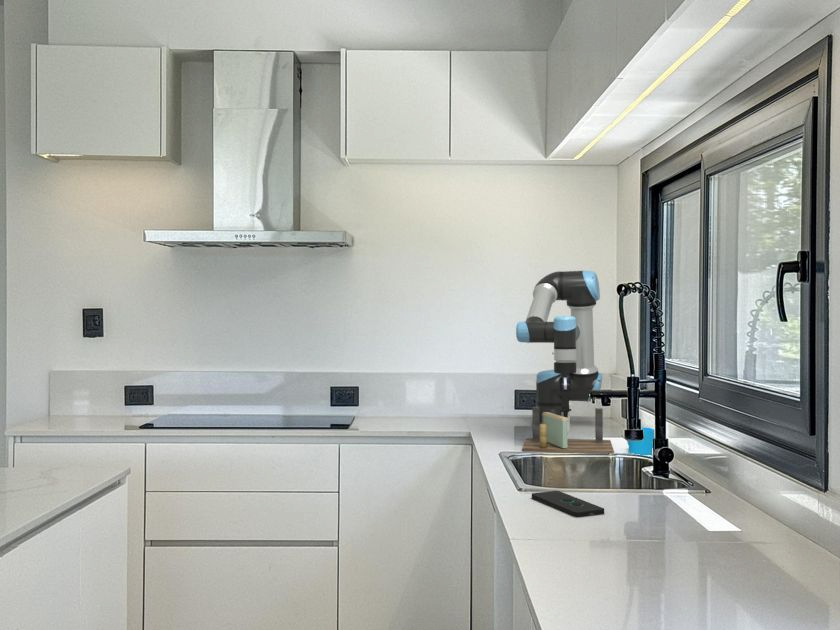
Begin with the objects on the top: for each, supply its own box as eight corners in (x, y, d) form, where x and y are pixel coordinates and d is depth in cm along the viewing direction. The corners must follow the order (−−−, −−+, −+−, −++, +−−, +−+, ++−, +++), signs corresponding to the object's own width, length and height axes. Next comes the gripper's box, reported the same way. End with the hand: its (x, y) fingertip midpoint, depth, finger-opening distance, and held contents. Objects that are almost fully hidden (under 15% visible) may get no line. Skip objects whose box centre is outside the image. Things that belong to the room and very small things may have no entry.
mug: (659, 455, 245) (659, 430, 245) (638, 456, 242) (638, 431, 242) (637, 449, 256) (637, 425, 256) (617, 450, 254) (617, 426, 254)
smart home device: (575, 512, 169) (529, 492, 187) (575, 519, 169) (529, 499, 187) (606, 508, 172) (558, 489, 190) (606, 515, 172) (558, 496, 190)
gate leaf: (546, 439, 267) (545, 411, 267) (567, 447, 250) (567, 417, 250) (540, 439, 267) (540, 411, 267) (562, 448, 250) (562, 418, 250)
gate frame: (525, 440, 275) (525, 404, 275) (610, 442, 269) (610, 406, 269) (522, 451, 252) (521, 412, 252) (614, 454, 246) (613, 414, 247)
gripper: (554, 360, 263) (554, 427, 263) (553, 362, 250) (554, 433, 250) (576, 360, 261) (576, 428, 261) (576, 362, 249) (577, 434, 249)
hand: (565, 430), depth 256 cm, fingers closed
